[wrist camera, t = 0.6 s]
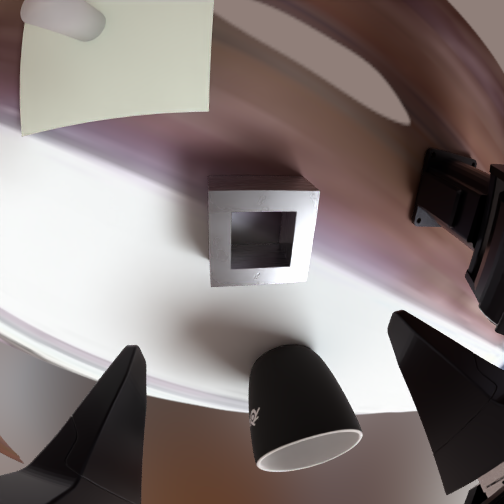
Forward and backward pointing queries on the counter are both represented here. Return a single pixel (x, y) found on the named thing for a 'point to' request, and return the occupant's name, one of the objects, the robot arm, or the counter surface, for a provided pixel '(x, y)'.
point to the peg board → (112, 60)
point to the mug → (298, 411)
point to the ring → (261, 255)
